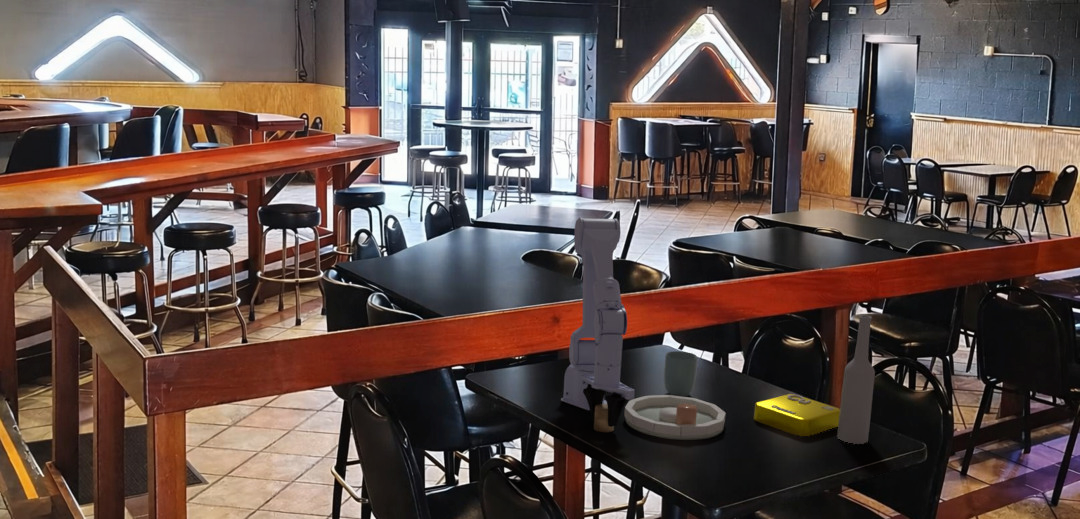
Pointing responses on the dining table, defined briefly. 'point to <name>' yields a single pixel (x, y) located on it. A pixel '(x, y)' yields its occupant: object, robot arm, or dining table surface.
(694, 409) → the terracotta bead
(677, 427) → the groove tray
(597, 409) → the maple bead
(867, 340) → the bottle
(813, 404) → the element tile
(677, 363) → the cup
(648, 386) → the dining table surface
